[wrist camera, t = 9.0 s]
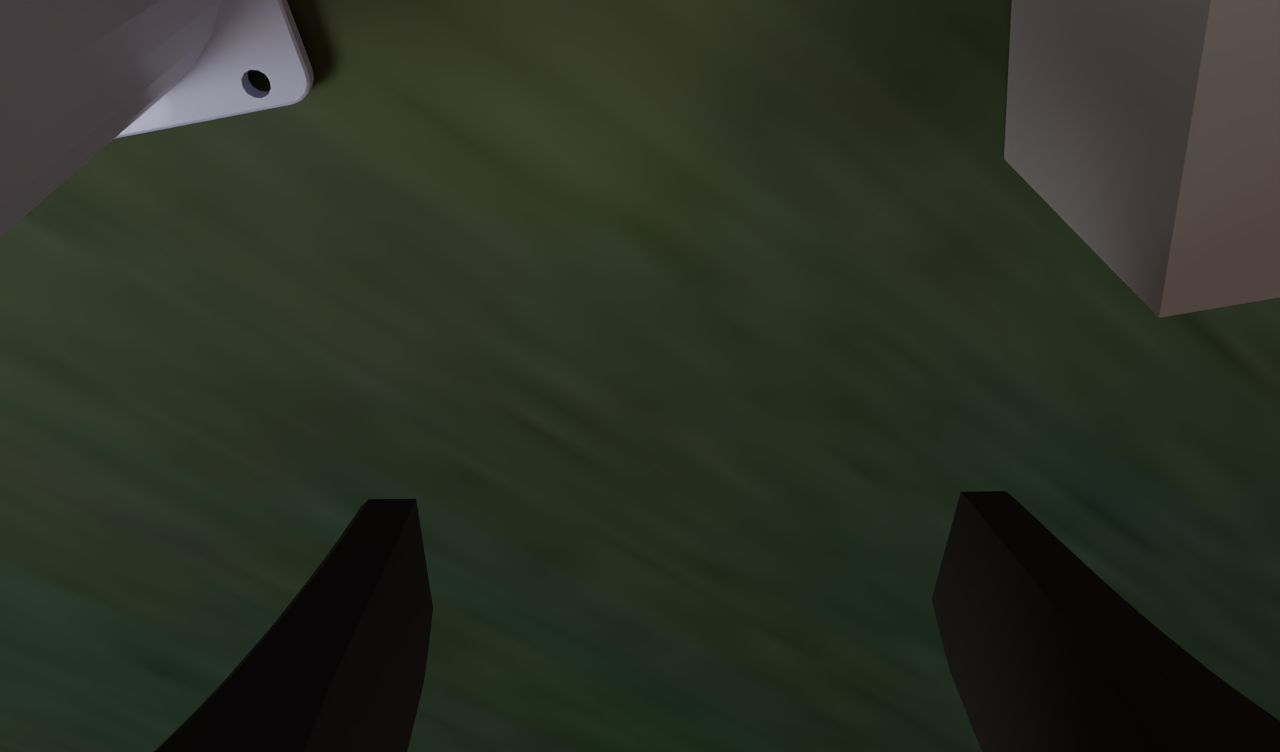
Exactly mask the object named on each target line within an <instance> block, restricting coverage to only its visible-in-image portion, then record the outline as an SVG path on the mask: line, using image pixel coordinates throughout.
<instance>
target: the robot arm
mask: <svg viewBox="0 0 1280 752" xmlns="http://www.w3.org/2000/svg"><path fill="white" fill-rule="evenodd" d="M249 70H258V71H260V72H262V73H263V74H265V75H266V76H267V78H268V79H269V81H270V85H271V90H270V91H260V90H258V89H256V88H254V87H253V86H252V84H251V83H250V82H249V80H248V71H249ZM313 81H314V76H313V70H312V67H311V64H310V61H309V59H308V56H307V53H306V51H305V48H304V45H303V42H302V40H301V37H300V34H299V32H298V29H297V26H296V24H295V21H294V18H293V15H292V13H291V10H290V7H289V5H288V2H287V0H0V237H1V236H2V235H3V234H4V233H6V232H7V231H8V230H9V229H10V228H11V227H12V226H14V225H15V224H16V223H17V222H18V221H19V220H21V219H22V218H23V217H24V216H25V215H26V214H28V213H29V212H30V211H31V210H32V209H33V208H34V207H36V206H37V205H38V204H39V203H40V202H41V201H43V200H44V199H45V198H46V197H47V196H48V195H50V194H51V193H52V192H53V191H54V190H55V189H56V188H58V187H59V186H60V185H61V184H62V183H63V182H65V181H66V180H67V179H68V178H69V177H70V176H72V175H73V174H74V173H75V172H76V171H77V170H78V169H80V168H81V167H82V166H83V165H84V164H85V163H87V162H88V161H89V160H90V159H91V158H92V157H94V156H95V155H96V154H97V153H98V152H99V151H100V150H102V149H103V148H104V147H105V146H106V145H107V144H109V143H110V142H111V141H112V140H113V139H115V138H120V137H125V136H130V135H135V134H141V133H146V132H151V131H156V130H161V129H167V128H172V127H177V126H182V125H187V124H192V123H198V122H203V121H208V120H213V119H218V118H224V117H229V116H234V115H239V114H244V113H250V112H255V111H260V110H265V109H270V108H276V107H281V106H286V105H291V104H294V103H297V102H299V101H301V100H302V99H303V98H304V97H305V96H306V95H307V94H308V92H309V91H310V90H311V88H312V85H313ZM932 602H933V606H934V611H935V615H936V619H937V623H938V627H939V631H940V635H941V639H942V643H943V647H944V650H945V654H946V658H947V661H948V665H949V669H950V672H951V674H952V677H953V679H954V682H955V685H956V687H957V690H958V692H959V695H960V697H961V700H962V702H963V705H964V708H965V710H966V713H967V715H968V718H969V720H970V723H971V725H972V728H973V730H974V733H975V735H976V738H977V740H978V743H979V745H980V748H981V750H982V752H1280V721H1279V720H1277V719H1276V718H1275V717H1273V716H1272V715H1270V714H1269V713H1268V712H1266V711H1265V710H1263V709H1262V708H1261V707H1259V706H1258V705H1256V704H1255V703H1253V702H1252V701H1251V700H1249V699H1248V698H1246V697H1245V696H1244V695H1242V694H1241V693H1239V692H1238V691H1237V690H1235V689H1234V688H1232V687H1231V686H1230V685H1228V684H1227V683H1226V682H1225V681H1223V680H1222V679H1221V678H1219V677H1218V676H1217V675H1215V674H1214V673H1213V672H1211V671H1210V670H1209V669H1207V668H1206V667H1205V666H1204V665H1202V664H1201V663H1200V662H1199V661H1197V660H1196V659H1195V658H1194V657H1192V656H1191V655H1190V654H1189V653H1187V652H1186V651H1185V650H1184V649H1183V648H1181V647H1180V646H1179V645H1178V644H1176V643H1175V642H1174V641H1173V640H1171V639H1170V638H1169V637H1168V636H1166V635H1165V634H1164V633H1163V632H1161V631H1160V630H1159V629H1158V628H1157V627H1156V626H1154V625H1153V624H1152V623H1151V622H1150V621H1148V620H1147V619H1146V618H1145V617H1144V616H1143V615H1141V614H1140V613H1139V612H1138V611H1137V610H1136V609H1134V608H1133V607H1132V606H1131V605H1130V604H1129V603H1128V602H1126V601H1125V600H1124V599H1123V598H1122V597H1121V596H1120V595H1119V594H1117V593H1116V592H1115V591H1114V590H1113V589H1112V588H1111V587H1110V586H1108V585H1107V584H1106V583H1105V582H1104V581H1103V580H1102V579H1101V578H1100V577H1098V576H1097V575H1096V574H1095V573H1094V572H1093V571H1092V570H1091V569H1090V568H1089V567H1087V566H1086V565H1085V564H1084V563H1083V562H1082V561H1081V560H1080V559H1079V558H1078V557H1077V556H1076V555H1075V554H1073V553H1072V552H1071V551H1070V550H1069V549H1068V548H1067V547H1066V546H1065V545H1064V544H1063V543H1062V542H1061V541H1059V540H1058V539H1057V538H1056V537H1055V536H1054V535H1053V534H1052V533H1051V532H1050V531H1049V530H1048V529H1047V528H1046V527H1045V526H1043V525H1042V524H1041V523H1040V522H1039V521H1038V520H1037V519H1036V518H1035V517H1034V516H1033V515H1032V514H1031V513H1030V512H1028V511H1027V510H1026V509H1025V508H1024V507H1023V506H1022V505H1021V504H1020V503H1019V502H1018V501H1016V500H1015V499H1014V498H1013V497H1012V496H1011V495H1010V494H1009V493H1007V492H1006V491H990V492H961V493H960V497H959V501H958V504H957V508H956V512H955V515H954V519H953V523H952V527H951V530H950V534H949V538H948V541H947V545H946V549H945V552H944V556H943V560H942V563H941V567H940V571H939V575H938V578H937V582H936V586H935V589H934V593H933V597H932ZM432 612H433V605H432V599H431V592H430V586H429V579H428V573H427V567H426V560H425V554H424V547H423V541H422V534H421V528H420V521H419V515H418V509H417V502H416V499H369V500H368V501H367V502H366V503H364V504H363V505H362V506H361V508H360V509H359V511H358V512H357V513H356V515H355V516H354V518H353V519H352V521H351V522H350V524H349V525H348V527H347V528H346V529H345V531H344V532H343V534H342V535H341V537H340V538H339V539H338V541H337V542H336V544H335V545H334V546H333V548H332V549H331V550H330V552H329V553H328V555H327V556H326V557H325V559H324V560H323V561H322V563H321V564H320V565H319V567H318V568H317V569H316V571H315V572H314V573H313V575H312V576H311V578H310V579H309V580H308V581H307V583H306V584H305V585H304V586H303V588H302V589H301V590H300V592H299V593H298V594H297V595H296V597H295V598H294V599H293V600H292V602H291V603H290V604H289V605H288V607H287V608H286V609H285V611H284V612H283V613H282V614H281V616H280V617H279V618H278V619H277V621H276V622H275V623H274V624H273V625H272V627H271V628H270V629H269V630H268V632H267V633H266V634H265V635H264V636H263V637H262V638H261V640H260V641H259V642H258V643H257V644H256V645H255V646H254V648H253V649H252V650H251V651H250V652H249V653H248V654H247V656H246V657H245V658H244V659H243V660H242V661H241V662H240V664H239V665H238V666H237V667H236V668H235V669H234V670H233V672H232V673H231V674H230V675H229V676H228V677H227V678H226V679H225V681H224V682H223V683H222V684H221V685H220V686H219V687H218V688H217V689H216V690H215V691H214V692H213V693H212V694H211V695H210V697H209V698H208V699H207V700H206V701H205V702H204V703H203V704H202V705H201V706H200V707H199V708H198V709H197V710H196V711H195V712H194V713H193V714H192V715H191V716H190V717H189V718H188V719H187V720H186V721H185V722H184V723H183V724H182V725H181V726H180V727H179V728H178V729H177V730H176V731H175V732H174V733H173V734H172V735H171V736H170V737H169V738H168V739H167V740H166V741H165V742H164V743H163V744H162V745H161V746H160V747H158V748H157V749H156V750H155V751H154V752H407V750H408V746H409V742H410V738H411V733H412V729H413V725H414V721H415V717H416V713H417V708H418V704H419V700H420V696H421V692H422V687H423V683H424V677H425V670H426V662H427V654H428V646H429V638H430V629H431V620H432Z"/></svg>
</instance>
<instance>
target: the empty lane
mask: <svg viewBox="0 0 1280 752" xmlns="http://www.w3.org/2000/svg"><path fill="white" fill-rule="evenodd" d="M1004 159H1005V160H1006V161H1007V162H1008V163H1009V164H1010V165H1011V166H1012V167H1013V169H1014V170H1015V171H1016V172H1017V173H1018V174H1019V175H1020V176H1021V177H1022V178H1023V179H1024V180H1025V181H1026V182H1027V183H1028V184H1029V185H1030V186H1031V187H1032V188H1033V189H1034V190H1035V191H1036V192H1037V193H1038V194H1039V195H1040V196H1041V197H1042V198H1043V199H1044V200H1045V201H1046V202H1047V203H1048V204H1049V205H1050V206H1051V207H1052V208H1053V210H1054V211H1055V212H1056V213H1057V214H1058V215H1059V216H1060V217H1061V218H1062V219H1063V220H1064V221H1065V222H1066V223H1067V224H1068V225H1069V226H1070V227H1071V228H1072V229H1073V230H1074V231H1075V232H1076V233H1077V234H1078V235H1079V236H1080V237H1081V238H1082V239H1083V240H1084V241H1085V242H1086V243H1087V244H1088V245H1089V246H1090V247H1091V248H1092V249H1093V251H1094V252H1095V253H1096V254H1097V255H1098V256H1099V257H1100V258H1101V259H1102V260H1103V261H1104V262H1105V263H1106V264H1107V265H1108V266H1109V267H1110V268H1111V269H1112V270H1113V271H1114V272H1115V273H1116V274H1117V275H1118V276H1119V277H1120V278H1121V279H1122V280H1123V281H1124V282H1125V283H1126V284H1127V285H1128V286H1129V287H1130V288H1131V289H1132V290H1133V292H1134V293H1135V294H1136V295H1137V296H1138V297H1139V298H1140V299H1141V300H1142V301H1143V302H1144V303H1145V304H1146V305H1147V306H1148V307H1149V308H1150V309H1151V310H1152V311H1153V312H1154V313H1155V314H1156V315H1157V316H1158V317H1159V318H1160V317H1166V316H1172V315H1178V314H1184V313H1190V312H1196V311H1202V310H1208V309H1213V308H1219V307H1225V306H1231V305H1237V304H1243V303H1249V302H1255V301H1261V300H1267V299H1273V298H1279V297H1280V0H1012V5H1011V26H1010V46H1009V67H1008V87H1007V108H1006V129H1005V149H1004Z"/></svg>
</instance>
